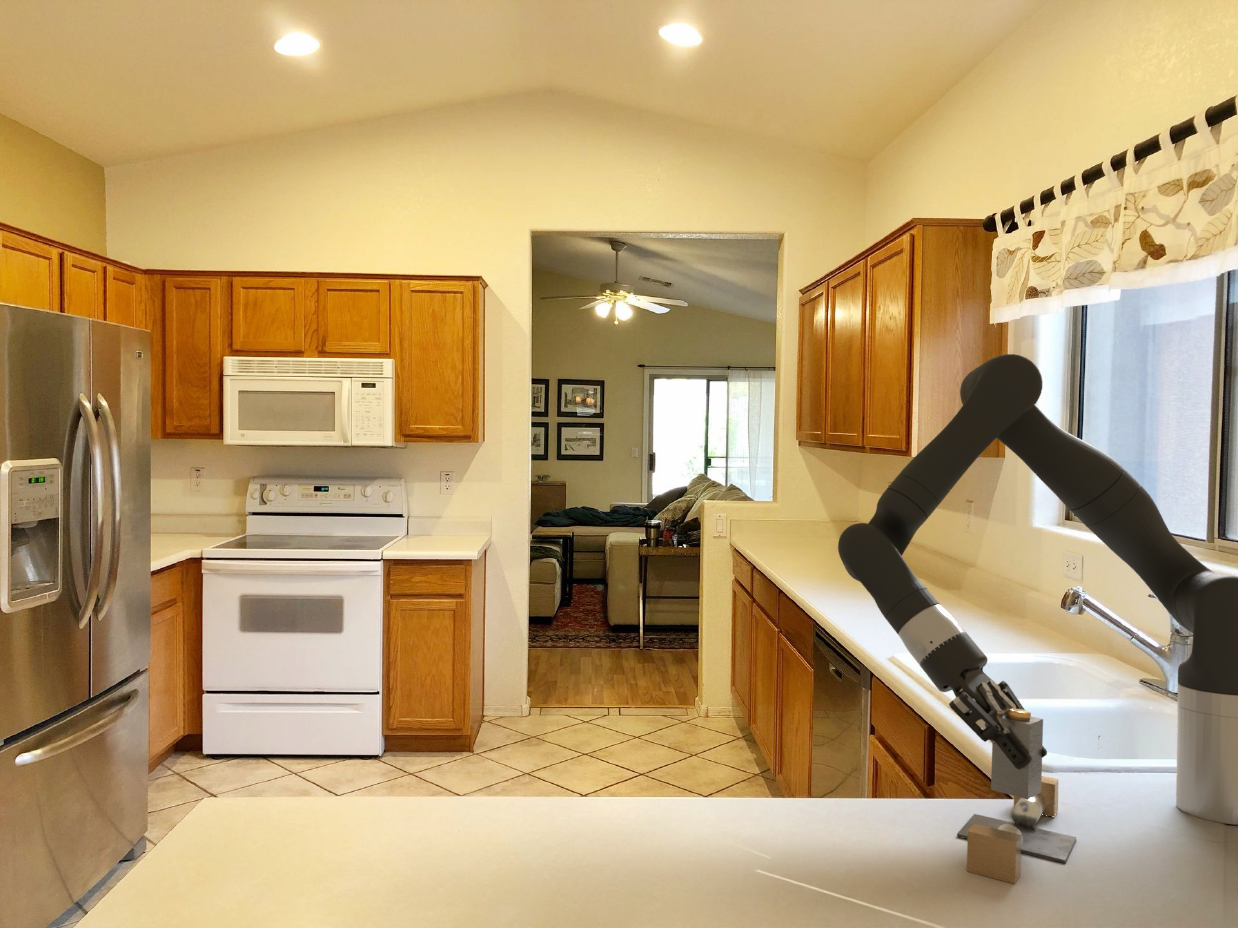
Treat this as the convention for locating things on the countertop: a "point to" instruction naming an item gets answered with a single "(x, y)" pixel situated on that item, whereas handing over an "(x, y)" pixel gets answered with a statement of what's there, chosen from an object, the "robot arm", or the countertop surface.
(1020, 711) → the gold-capped grey pillar
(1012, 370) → the robot arm
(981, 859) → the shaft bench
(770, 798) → the countertop surface
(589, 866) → the countertop surface
